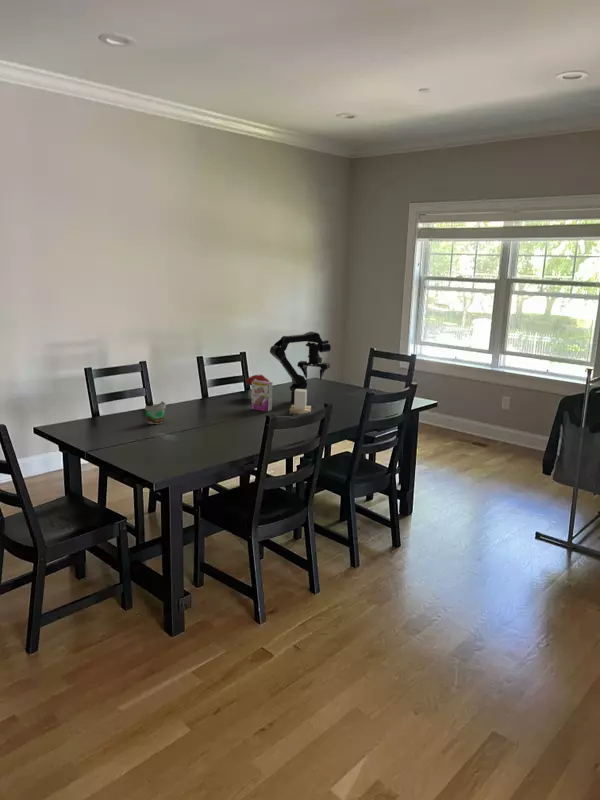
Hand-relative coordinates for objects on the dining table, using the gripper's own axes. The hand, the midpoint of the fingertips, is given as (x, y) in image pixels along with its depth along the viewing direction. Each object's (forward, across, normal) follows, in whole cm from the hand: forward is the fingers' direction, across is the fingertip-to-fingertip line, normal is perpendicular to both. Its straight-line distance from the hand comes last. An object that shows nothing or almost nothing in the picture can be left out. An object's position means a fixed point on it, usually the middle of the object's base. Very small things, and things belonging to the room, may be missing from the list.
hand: (313, 379), depth 370 cm
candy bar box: (+12, +17, +36) cm, 42 cm away
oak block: (+13, -4, +29) cm, 32 cm away
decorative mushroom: (+12, +30, +14) cm, 35 cm away
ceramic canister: (+10, -4, +29) cm, 31 cm away
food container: (+9, +51, +85) cm, 100 cm away
